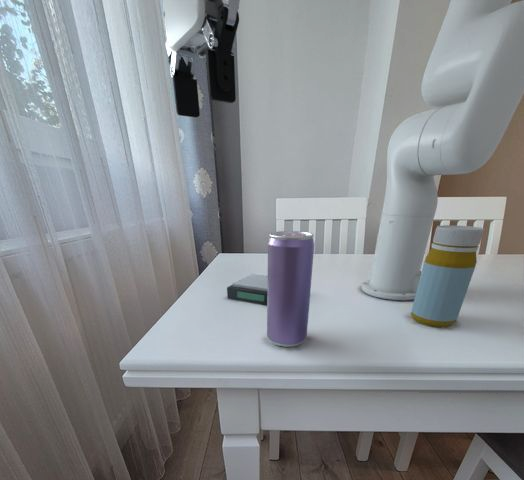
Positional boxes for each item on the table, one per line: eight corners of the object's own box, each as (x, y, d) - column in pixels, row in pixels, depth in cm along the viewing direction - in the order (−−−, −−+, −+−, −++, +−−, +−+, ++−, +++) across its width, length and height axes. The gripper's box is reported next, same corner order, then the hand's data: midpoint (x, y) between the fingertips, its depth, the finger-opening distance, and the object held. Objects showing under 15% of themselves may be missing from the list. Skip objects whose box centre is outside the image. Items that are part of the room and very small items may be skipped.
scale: (294, 292, 64) (295, 279, 63) (275, 307, 56) (275, 292, 55) (250, 286, 69) (249, 273, 67) (226, 298, 61) (226, 284, 59)
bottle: (461, 330, 47) (497, 231, 40) (415, 326, 49) (442, 229, 41) (446, 314, 53) (475, 225, 46) (406, 311, 55) (428, 224, 47)
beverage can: (305, 350, 41) (314, 237, 34) (263, 346, 42) (264, 236, 35) (307, 332, 47) (315, 231, 39) (270, 329, 48) (271, 230, 40)
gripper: (269, -166, 24) (268, 98, 33) (187, -47, 37) (201, 123, 45) (184, -230, 21) (207, 87, 29) (124, -74, 33) (152, 117, 41)
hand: (204, 109), depth 37 cm, fingers open, 9 cm apart
